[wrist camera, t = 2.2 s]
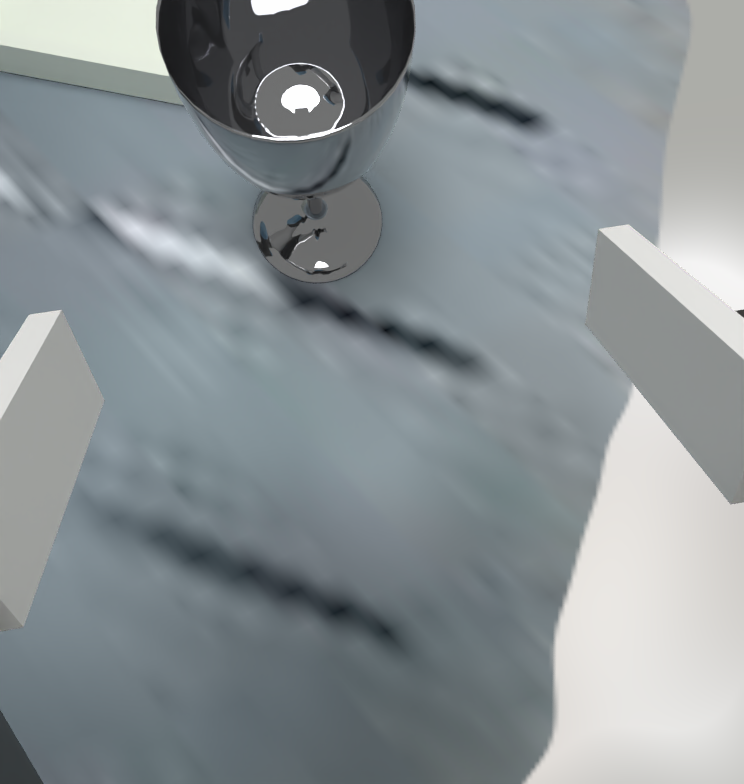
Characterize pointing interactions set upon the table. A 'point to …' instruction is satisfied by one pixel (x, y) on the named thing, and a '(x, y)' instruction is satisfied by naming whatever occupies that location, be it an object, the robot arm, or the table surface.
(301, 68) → the wine glass
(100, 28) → the white tray
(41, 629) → the table surface
